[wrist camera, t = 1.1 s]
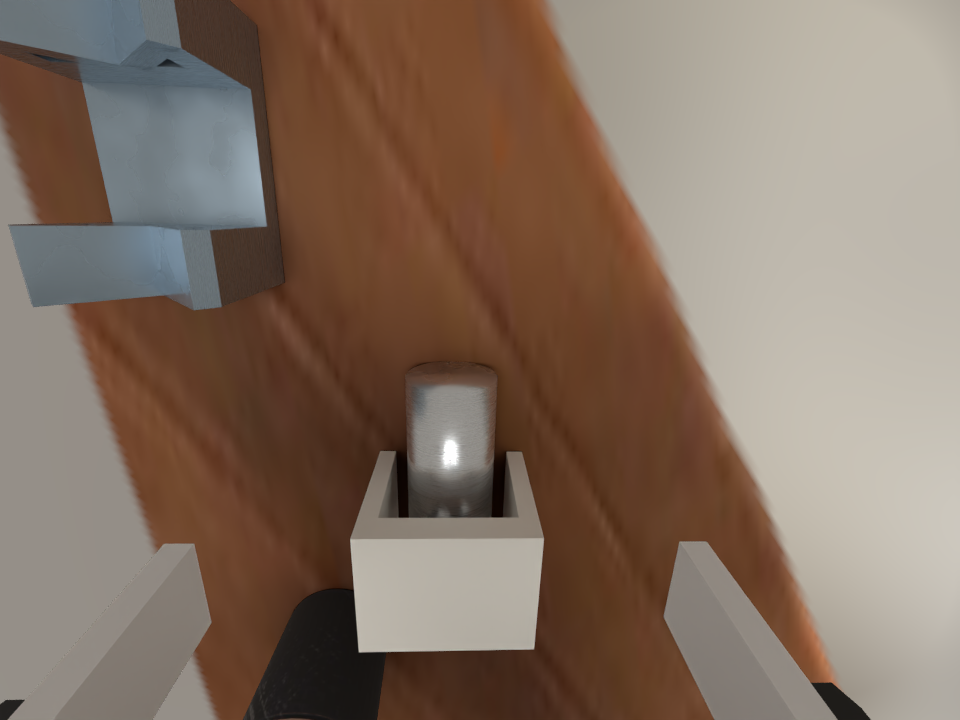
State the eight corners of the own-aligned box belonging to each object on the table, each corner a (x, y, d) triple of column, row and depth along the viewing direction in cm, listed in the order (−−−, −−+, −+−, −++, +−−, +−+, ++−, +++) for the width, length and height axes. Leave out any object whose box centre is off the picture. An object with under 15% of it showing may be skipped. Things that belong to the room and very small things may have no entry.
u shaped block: (515, 541, 31) (534, 649, 23) (384, 541, 30) (358, 652, 23) (521, 451, 28) (543, 538, 21) (380, 451, 28) (350, 539, 20)
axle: (488, 502, 30) (493, 557, 25) (413, 503, 29) (404, 558, 25) (494, 361, 27) (501, 393, 22) (410, 360, 26) (399, 392, 22)
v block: (284, 282, 24) (212, 310, 17) (146, 279, 24) (14, 306, 17) (256, 25, 21) (149, -75, 14) (92, 17, 20) (-106, -89, 13)
